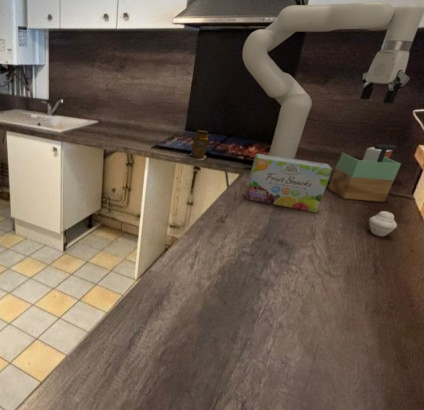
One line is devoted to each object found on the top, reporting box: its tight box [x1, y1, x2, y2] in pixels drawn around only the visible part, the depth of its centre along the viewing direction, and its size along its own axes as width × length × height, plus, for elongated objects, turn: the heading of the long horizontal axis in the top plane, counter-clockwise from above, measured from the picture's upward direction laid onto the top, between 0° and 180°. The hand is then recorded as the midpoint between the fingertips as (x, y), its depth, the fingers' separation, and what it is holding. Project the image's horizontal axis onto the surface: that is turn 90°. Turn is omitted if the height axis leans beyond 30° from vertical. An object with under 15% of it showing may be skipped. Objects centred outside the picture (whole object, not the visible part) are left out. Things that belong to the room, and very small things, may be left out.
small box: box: [362, 146, 394, 161], centre depth 145 cm, size 8×6×13 cm
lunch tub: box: [335, 143, 402, 181], centre depth 125 cm, size 11×14×12 cm
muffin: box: [368, 210, 398, 237], centre depth 100 cm, size 6×6×7 cm
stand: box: [328, 167, 395, 203], centre depth 129 cm, size 10×14×8 cm
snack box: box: [245, 153, 333, 213], centre depth 115 cm, size 21×6×15 cm, turn 68°
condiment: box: [187, 129, 209, 161], centre depth 162 cm, size 7×8×12 cm
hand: (375, 101), depth 125 cm, fingers open, 9 cm apart
